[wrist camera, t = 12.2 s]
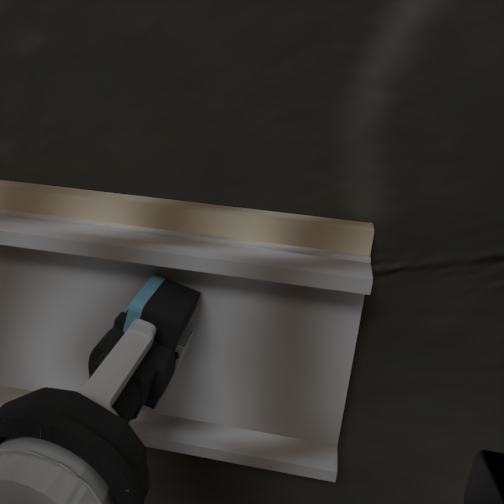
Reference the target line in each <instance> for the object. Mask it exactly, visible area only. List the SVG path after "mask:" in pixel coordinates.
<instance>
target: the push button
mask: <svg viewBox="0 0 504 504" xmlns="http://www.w3.org/2000/svg"><path fill="white" fill-rule="evenodd" d="M199 297H200V292H199V291H197V290H194V289H192V288H189V287H186V286H184V285H181V284H179V283H176V282H174V281H171V280H169V279H166V278H164V277H161V276H159V275H156V274H153V275H152V276H151V277H150V279H149V281H148V282H147V283H146V284H145V285H144V287H143V288H142V289H141V290H140V291H139V292H138V294H137V295H136V296H135V297H134V298H133V300H132V302H131V304H130V305H129V306H128V307H127V308H126V309H125V310H124V312H121V313H120V314H119V315H118V316H117V317H116V318H115V321H114V325H113V328H112V329H110V330H109V331H108V332H107V333H106V334H105V336H104V337H103V338H102V339H101V340H100V341H99V343H98V344H97V345H96V346H95V347H94V349H93V350H92V352H91V354H90V356H89V361H88V370H89V379H88V381H87V382H86V384H85V385H84V386H83V387H82V389H80V390H79V391H71V390H64V389H56V388H49V387H44V388H40V389H38V390H35V391H33V392H31V393H28V394H26V395H23V396H21V397H19V398H16V399H14V400H11V401H9V402H6V403H4V404H3V405H2V406H1V407H0V504H144V499H145V497H146V495H147V493H148V490H149V481H148V469H147V458H146V449H145V446H144V444H143V443H142V441H141V440H140V438H139V437H138V436H137V434H136V433H135V432H134V430H133V429H132V427H131V426H130V425H129V422H130V420H133V419H136V418H137V416H138V414H139V412H140V411H141V409H142V407H143V405H144V406H146V407H149V408H151V409H155V407H156V405H157V403H158V401H159V400H160V398H161V397H162V395H163V394H164V392H165V390H166V388H167V386H168V384H169V382H170V380H171V379H172V377H173V374H174V371H175V367H176V368H178V367H179V364H180V363H181V361H182V359H183V357H184V355H185V353H186V351H187V349H188V347H189V344H190V342H191V339H192V336H193V333H194V330H192V331H191V333H190V335H189V337H188V339H187V341H186V342H185V345H184V346H181V345H179V344H178V342H179V339H180V337H181V335H182V333H183V331H184V329H185V327H186V325H187V323H188V322H189V320H190V318H191V316H192V314H193V312H194V310H195V308H196V305H197V302H198V300H199Z"/></svg>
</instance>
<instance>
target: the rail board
mask: <svg viewBox="0 0 504 504" xmlns="http://www.w3.org/2000/svg"><path fill="white" fill-rule="evenodd" d="M373 236H374V227H373V223H367V222H358V221H350V220H341V219H333V218H324V217H315V216H307V215H298V214H290V213H281V212H272V211H264V210H255V209H247V208H238V207H229V206H221V205H212V204H204V203H195V202H186V201H178V200H169V199H161V198H152V197H143V196H135V195H126V194H118V193H109V192H100V191H92V190H83V189H75V188H66V187H57V186H49V185H40V184H32V183H23V182H14V181H6V180H0V407H1V406H2V405H3V404H4V403H6V402H9V401H11V400H14V399H16V398H19V397H21V396H23V395H26V394H28V393H31V392H33V391H35V390H38V389H40V388H44V387H49V388H56V389H64V390H71V391H79V390H80V389H82V387H83V386H84V385H85V384H86V382H87V381H88V379H89V370H88V361H89V356H90V354H91V352H92V350H93V349H94V347H95V346H96V345H97V344H98V343H99V341H100V340H101V339H102V338H103V337H104V336H105V334H106V333H107V332H108V331H109V330H110V329H112V328H113V325H114V321H115V318H116V317H117V316H118V315H119V314H120V313H121V312H124V310H125V309H126V308H127V307H128V306H129V305H130V304H131V302H132V300H133V298H134V297H135V296H136V295H137V294H138V292H139V291H140V290H141V289H142V288H143V287H144V285H145V284H146V283H147V282H148V281H149V279H150V277H151V276H152V275H153V274H156V275H159V276H161V277H164V278H166V279H169V280H171V281H174V282H176V283H179V284H181V285H184V286H186V287H189V288H192V289H194V290H197V291H199V292H200V297H199V300H198V302H197V305H196V308H195V310H194V312H193V314H192V316H191V318H190V320H189V322H188V323H187V325H186V327H185V329H184V331H183V333H182V335H181V337H180V339H179V342H178V344H179V345H181V346H184V345H185V342H186V341H187V339H188V337H189V335H190V333H191V331H192V330H194V333H193V336H192V339H191V342H190V344H189V347H188V349H187V351H186V353H185V355H184V357H183V359H182V361H181V363H180V364H179V367H178V368H176V367H175V371H174V374H173V377H172V379H171V380H170V382H169V384H168V386H167V388H166V390H165V392H164V394H163V395H162V397H161V398H160V400H159V401H158V403H157V405H156V407H155V409H151V408H149V407H146V406H144V405H143V407H142V409H141V411H140V412H139V414H138V416H137V418H136V419H133V420H130V422H129V425H130V426H131V427H132V429H133V430H134V432H135V433H136V434H137V436H138V437H139V438H140V440H141V441H142V443H143V444H144V446H146V447H151V448H157V449H162V450H167V451H173V452H178V453H183V454H188V455H194V456H199V457H204V458H209V459H215V460H220V461H225V462H231V463H236V464H241V465H246V466H252V467H257V468H262V469H267V470H273V471H278V472H283V473H289V474H294V475H299V476H304V477H310V478H315V479H320V480H325V481H331V482H335V481H336V476H337V445H338V439H339V434H340V428H341V423H342V417H343V412H344V406H345V401H346V395H347V390H348V384H349V379H350V373H351V367H352V362H353V356H354V351H355V345H356V340H357V334H358V329H359V323H360V318H361V312H362V307H363V301H364V296H365V294H367V295H370V293H371V288H372V282H373V277H372V270H371V264H370V262H371V258H370V253H371V247H372V242H373Z"/></svg>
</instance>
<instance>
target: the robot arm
mask: <svg viewBox="0 0 504 504" xmlns="http://www.w3.org/2000/svg"><path fill="white" fill-rule="evenodd" d="M464 504H504V453H499V452H493V451H487V450H481V451H479V452H478V453H477V455H476V456H475V459H474V462H473V466H472V469H471V472H470V475H469V478H468V482H467V485H466V488H465V493H464Z"/></svg>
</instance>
